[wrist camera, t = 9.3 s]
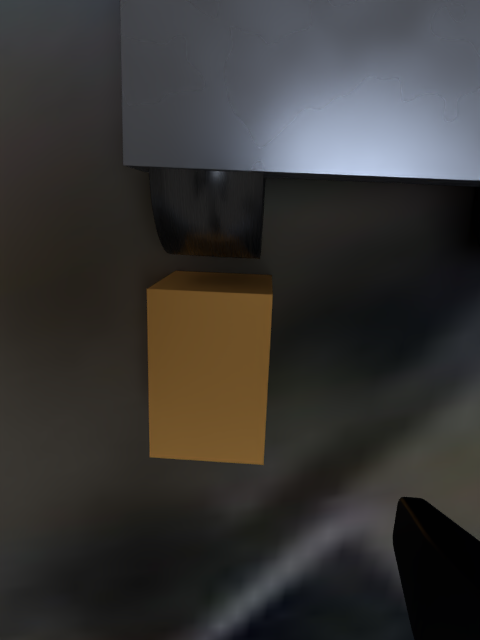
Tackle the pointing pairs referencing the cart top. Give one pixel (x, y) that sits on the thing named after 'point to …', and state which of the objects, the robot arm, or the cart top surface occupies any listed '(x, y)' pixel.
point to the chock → (209, 366)
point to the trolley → (292, 104)
